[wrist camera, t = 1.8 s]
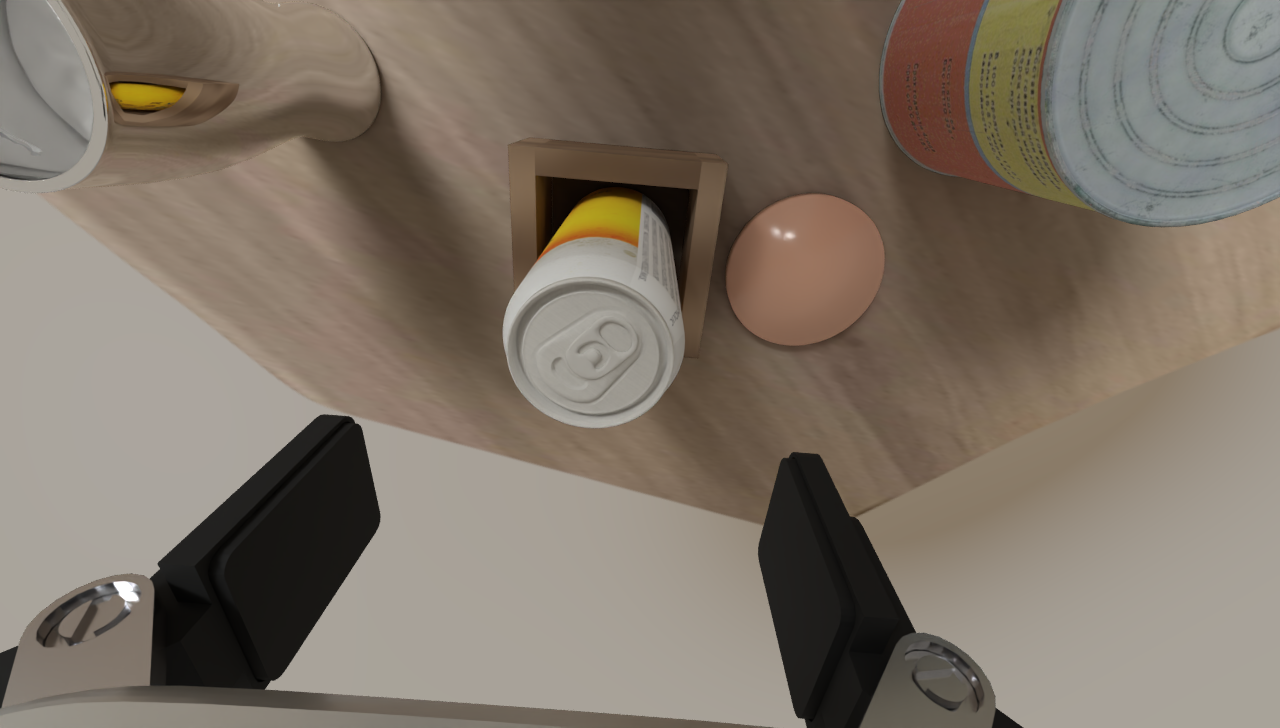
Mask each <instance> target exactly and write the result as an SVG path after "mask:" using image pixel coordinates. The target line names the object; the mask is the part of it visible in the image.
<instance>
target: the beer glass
mask: <svg viewBox="0 0 1280 728" xmlns="http://www.w3.org/2000/svg"><path fill="white" fill-rule="evenodd" d="M380 101H381V84H380V77H379V73H378V69H377V66H376V63H375V61H374V58H373V56H372V54H371V52H370V50H369V48H368V47H367V45H366V44H365V42H364V41H363V39H362V38H361V36H360V35H359V34H358V33H357V32H356V30H355V29H354V28H353V27H352V26H351V25H350V24H349V23H347V22H346V21H345V20H344V19H343V18H341V17H340V16H339V15H337V14H336V13H334V12H332V11H331V10H329V9H327V8H325V7H322V6H320V5H317V4H313V3H309V2H301V1H292V2H280V3H270V2H266V1H263V0H0V188H2V189H6V190H11V191H17V192H26V193H48V192H55V191H60V190H65V189H77V188H93V187H109V186H122V185H134V184H146V183H153V182H161V181H168V180H176V179H183V178H188V177H192V176H197V175H202V174H206V173H211V172H215V171H219V170H222V169H225V168H228V167H231V166H233V165H236V164H239V163H242V162H244V161H247V160H250V159H252V158H254V157H256V156H258V155H260V154H263V153H265V152H267V151H269V150H271V149H273V148H275V147H277V146H279V145H282V144H284V143H286V142H288V141H290V140H293V139H295V138H299V137H307V138H312V139H317V140H322V141H332V142H340V141H347V140H350V139H353V138H356V137H358V136H359V135H361V134H362V133H364V132H365V131H366V130H367V129H368V128H369V127H370V126H371V124H372V123H373V121H374V120H375V118H376V116H377V113H378V110H379V106H380Z"/></svg>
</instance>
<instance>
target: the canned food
mask: <svg viewBox="0 0 1280 728" xmlns="http://www.w3.org/2000/svg"><path fill="white" fill-rule="evenodd" d="M879 94H880V103H881V108H882V113H883V116H884V120H885V123H886V125H887V128H888V130H889V132H890V134H891V136H892V138H893V139H894V141H895V143H896V144H897V145H898V146H899V148H900V149H901V150H902V151H903V152H904V153H905V154H906V155H907V156H908V157H909V158H910V159H911V160H913V161H914V162H915V163H917V164H918V165H920V166H922V167H924V168H926V169H928V170H930V171H933V172H936V173H939V174H943V175H948V176H954V177H963V178H967V179H971V180H975V181H979V182H982V183H986V184H990V185H994V186H998V187H1002V188H1006V189H1010V190H1014V191H1018V192H1022V193H1026V194H1030V195H1034V196H1037V197H1041V198H1045V199H1049V200H1053V201H1057V202H1061V203H1065V204H1069V205H1073V206H1077V207H1081V208H1085V209H1089V210H1092V211H1096V212H1099V213H1101V214H1103V215H1105V216H1108V217H1110V218H1113V219H1116V220H1119V221H1123V222H1126V223H1130V224H1136V225H1142V226H1150V227H1181V226H1189V225H1197V224H1202V223H1207V222H1212V221H1217V220H1220V219H1224V218H1227V217H1230V216H1234V215H1237V214H1240V213H1243V212H1245V211H1248V210H1251V209H1254V208H1256V207H1259V206H1261V205H1263V204H1265V203H1268V202H1270V201H1272V200H1274V199H1277V198H1279V197H1280V0H902V1H901V3H900V5H899V7H898V9H897V11H896V13H895V15H894V17H893V20H892V22H891V25H890V27H889V30H888V33H887V36H886V40H885V44H884V48H883V52H882V57H881V63H880V73H879Z"/></svg>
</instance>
